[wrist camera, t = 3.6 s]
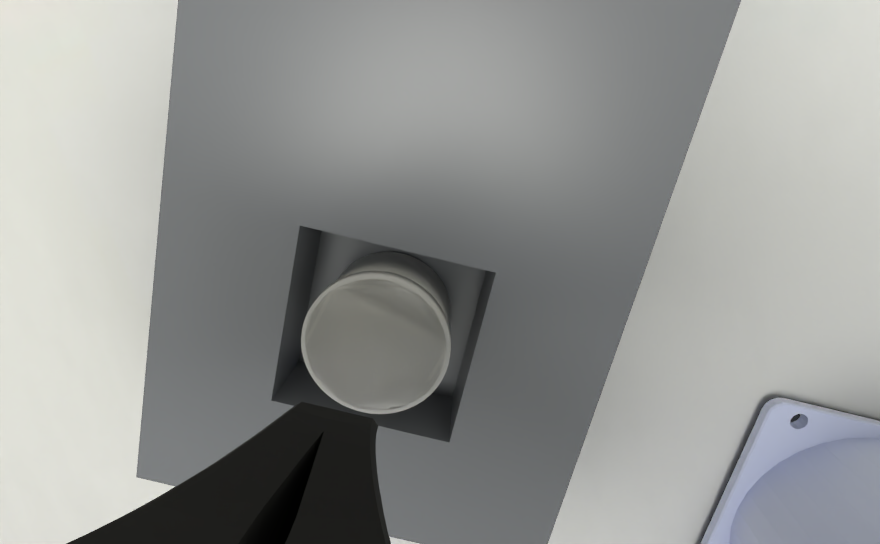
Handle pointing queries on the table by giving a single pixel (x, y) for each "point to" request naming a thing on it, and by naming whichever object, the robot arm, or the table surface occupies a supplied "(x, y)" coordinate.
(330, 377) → the sample container
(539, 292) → the console
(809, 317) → the table surface
